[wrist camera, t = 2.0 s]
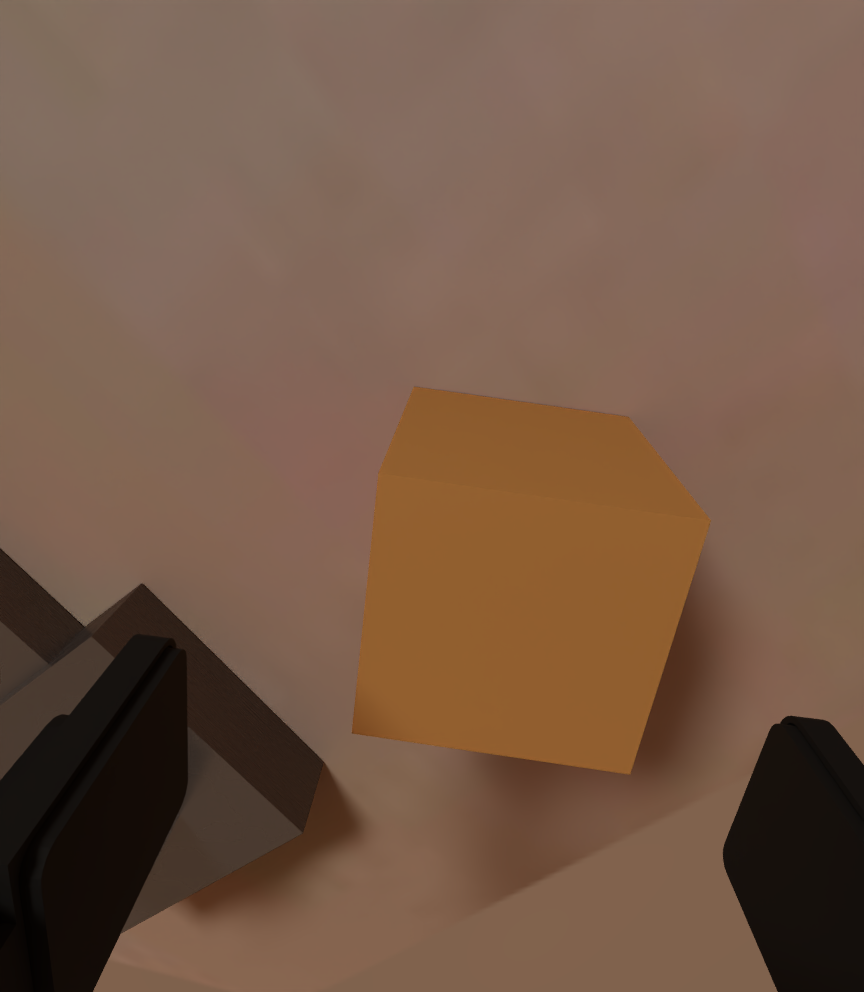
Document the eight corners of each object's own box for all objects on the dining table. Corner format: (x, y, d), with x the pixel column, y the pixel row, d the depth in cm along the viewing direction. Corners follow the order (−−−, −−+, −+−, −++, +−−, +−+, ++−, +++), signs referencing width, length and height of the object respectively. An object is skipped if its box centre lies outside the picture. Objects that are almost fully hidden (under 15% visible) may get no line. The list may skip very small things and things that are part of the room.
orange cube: (628, 416, 18) (710, 520, 12) (582, 602, 21) (629, 774, 14) (413, 386, 18) (378, 473, 12) (391, 574, 21) (351, 733, 14)
